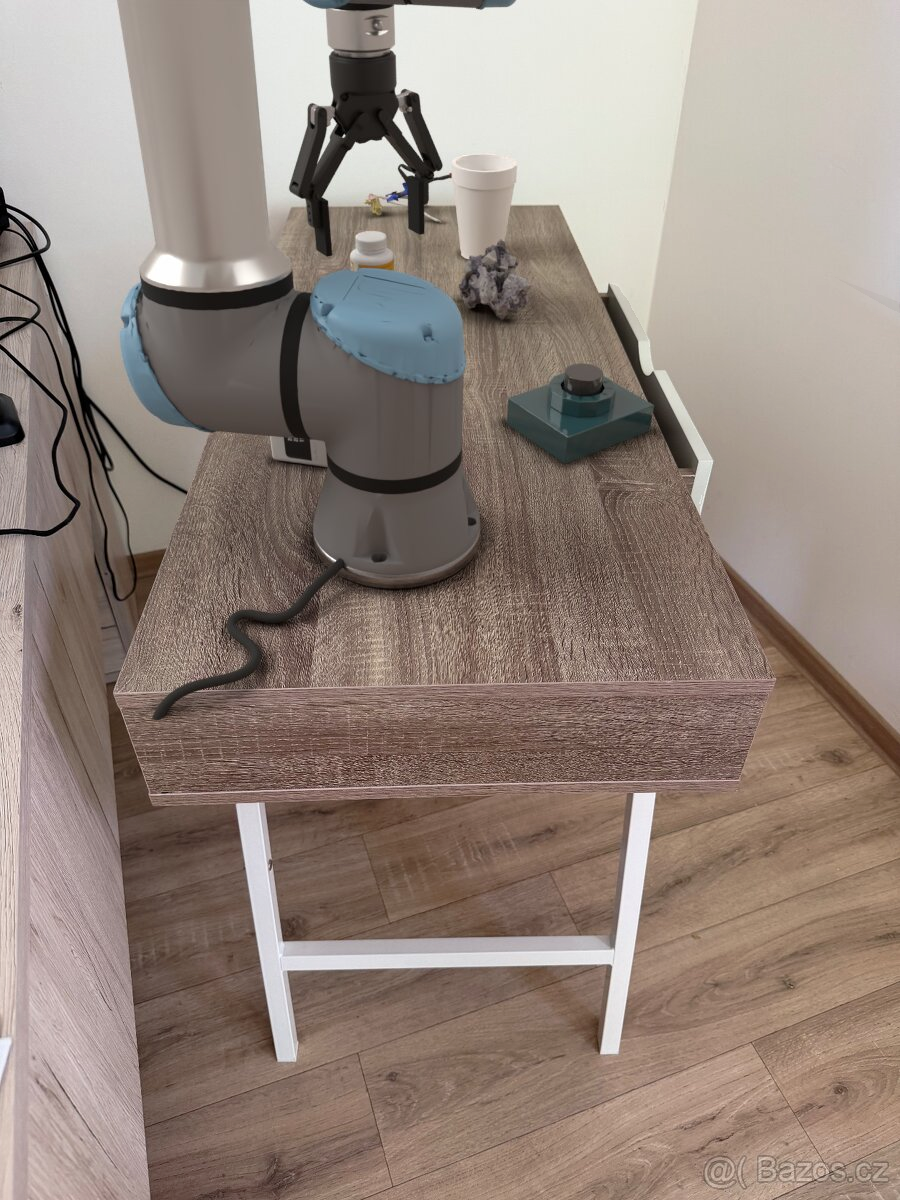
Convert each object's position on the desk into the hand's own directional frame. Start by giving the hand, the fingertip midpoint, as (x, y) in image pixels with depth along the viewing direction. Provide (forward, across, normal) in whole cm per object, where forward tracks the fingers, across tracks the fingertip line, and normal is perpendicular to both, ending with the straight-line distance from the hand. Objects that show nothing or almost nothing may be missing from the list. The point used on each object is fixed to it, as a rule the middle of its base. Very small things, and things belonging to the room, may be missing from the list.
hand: (371, 242), depth 117 cm
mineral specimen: (+10, +14, -7) cm, 18 cm away
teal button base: (+9, +3, -38) cm, 39 cm away
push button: (+4, +3, -38) cm, 39 cm away
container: (+9, -22, -26) cm, 36 cm away
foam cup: (+10, +25, +10) cm, 28 cm away
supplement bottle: (+10, 0, 0) cm, 10 cm away
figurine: (+10, +26, +32) cm, 42 cm away
